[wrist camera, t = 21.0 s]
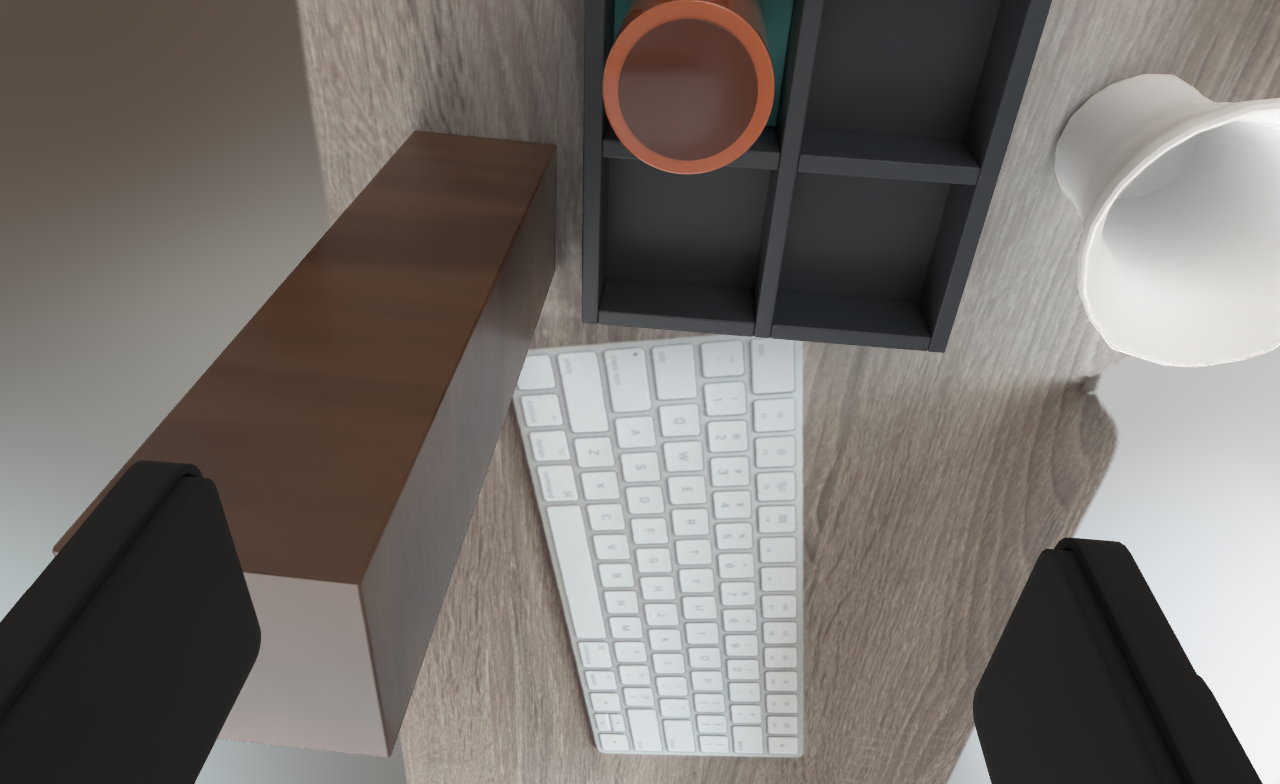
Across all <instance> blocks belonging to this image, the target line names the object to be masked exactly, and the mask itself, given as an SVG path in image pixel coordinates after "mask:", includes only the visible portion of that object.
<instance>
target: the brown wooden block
mask: <svg viewBox="0 0 1280 784" xmlns="http://www.w3.org/2000/svg"><path fill="white" fill-rule="evenodd" d="M555 210H556V145H554V144H544V143H534V142H524V141H513V140H503V139H493V138H483V137H472V136H462V135H452V134H442V133H431V132H421V131H414V132H413V133H412V134H411V135H410V137H409V138H408V139H407V140H406V141H405V142H404V144H403V145H402V146H401V147H400V148H399V149H398V150H397V152H396V153H395V154H394V155H393V156H392V157H391V159H390V160H389V161H388V162H387V163H386V164H385V165H384V167H383V168H382V169H381V170H380V171H379V172H378V174H377V175H376V176H375V177H374V178H373V179H372V180H371V182H370V183H369V184H368V185H367V186H366V187H365V188H364V190H363V191H362V192H361V193H360V194H359V195H358V197H357V198H356V199H355V200H354V201H353V202H352V203H351V205H350V206H349V207H348V208H347V209H346V210H345V212H344V213H343V214H342V215H341V216H340V217H339V218H338V220H337V221H336V222H335V223H334V224H333V225H332V227H331V228H330V229H329V230H328V231H327V232H326V233H325V235H324V236H323V237H322V238H321V239H320V240H319V242H318V243H317V244H316V245H315V246H314V247H313V248H312V250H311V251H310V252H309V253H308V254H307V255H306V257H305V258H304V259H303V260H302V261H301V262H300V263H299V265H298V266H297V267H296V268H295V269H294V270H293V272H292V273H291V274H290V275H289V276H288V277H287V278H286V280H285V281H284V282H283V283H282V284H281V285H280V287H279V288H278V289H277V290H276V291H275V292H274V293H273V295H272V296H271V297H270V298H269V299H268V300H267V301H266V303H265V304H264V305H263V306H262V307H261V309H260V310H259V311H258V312H257V313H256V314H255V315H254V316H253V318H252V319H251V320H250V321H249V322H248V324H247V325H246V326H245V327H244V328H243V329H242V331H241V332H240V333H239V334H238V335H237V336H236V337H235V338H234V340H233V341H232V342H231V343H230V344H229V345H228V346H227V348H226V349H225V350H224V351H223V352H222V353H221V355H220V356H219V357H218V358H217V359H216V360H215V361H214V363H213V364H212V365H211V366H210V367H209V368H208V369H207V371H206V372H205V373H204V374H203V375H202V376H201V378H200V379H199V380H198V381H197V382H196V383H195V384H194V386H193V387H192V388H191V389H190V390H189V391H188V393H187V394H186V395H185V396H184V397H183V398H182V400H181V401H180V402H179V403H178V404H177V405H176V406H175V408H174V409H173V410H172V411H171V412H170V413H169V414H168V416H167V417H166V418H165V419H164V420H163V421H162V423H161V424H160V425H159V426H158V427H157V428H156V429H155V431H154V432H153V433H152V434H151V435H150V436H149V437H148V439H147V440H146V441H145V442H144V443H143V444H142V446H141V447H140V448H139V449H138V450H137V451H136V452H135V454H134V455H133V456H132V457H131V458H130V460H129V461H128V462H127V463H126V464H125V465H124V466H123V467H122V469H121V470H120V471H119V472H118V473H117V474H116V476H115V477H114V478H113V479H112V480H111V481H110V483H109V484H108V485H107V486H106V487H105V488H104V489H103V491H102V492H101V493H100V494H99V495H98V496H97V498H96V499H95V500H94V501H93V502H92V503H91V504H90V506H89V507H88V508H87V509H86V510H85V511H84V512H83V514H82V515H81V516H80V517H79V518H78V520H76V522H75V523H74V524H73V525H72V527H70V529H69V530H68V531H67V532H66V533H65V534H64V535H63V537H62V538H61V539H60V540H59V541H58V542H57V544H56V545H55V546H54V547H53V553H54V556H55V557H56V555H57V554H58V553H59V552H60V550H61V549H62V548H63V547H64V546H65V544H66V543H67V542H68V541H69V540H70V538H71V537H72V536H73V535H74V534H75V532H76V531H77V530H78V529H79V527H80V526H81V525H82V524H83V523H84V521H85V520H86V519H87V518H88V517H89V515H90V514H91V513H92V512H93V511H94V509H95V508H96V507H97V506H98V504H99V503H100V502H101V501H102V500H103V498H104V497H105V496H106V495H107V494H108V492H109V491H110V490H111V489H112V488H113V486H114V485H115V484H116V483H117V481H118V480H119V479H120V478H121V477H122V475H123V474H124V473H125V472H126V471H127V469H128V468H129V467H131V466H132V465H133V464H134V463H135V462H138V461H141V460H148V461H159V462H171V463H183V464H192V465H195V466H197V467H198V468H199V469H200V471H201V473H202V475H203V477H204V478H208V479H211V480H212V481H213V482H214V483H215V485H216V487H217V490H218V494H219V497H220V500H221V503H222V506H223V510H224V513H225V516H226V519H227V522H228V526H229V529H230V532H231V535H232V539H233V542H234V545H235V548H236V551H237V555H238V558H239V561H240V564H241V567H242V571H243V574H244V577H245V580H246V583H247V587H248V590H249V593H250V596H251V599H252V603H253V606H254V609H255V612H256V616H257V619H258V622H259V625H260V629H261V645H260V650H259V654H258V657H257V659H256V662H255V664H254V666H253V668H252V670H251V672H250V674H249V676H248V678H247V680H246V682H245V684H244V686H243V688H242V690H241V692H240V694H239V696H238V698H237V700H236V702H235V704H234V706H233V708H232V710H231V711H230V713H229V715H228V717H227V719H226V721H225V723H224V725H223V727H222V729H221V731H220V733H219V735H218V737H217V739H226V740H235V741H243V742H253V743H262V744H270V745H279V746H288V747H297V748H305V749H315V750H324V751H332V752H341V753H350V754H359V755H368V756H376V757H385V758H389V757H390V756H391V754H392V751H393V748H394V745H395V742H396V740H397V737H398V734H399V731H400V728H401V725H402V722H403V719H404V716H405V713H406V710H407V707H408V704H409V701H410V698H411V695H412V692H413V689H414V686H415V683H416V680H417V677H418V674H419V671H420V668H421V666H422V663H423V660H424V657H425V654H426V651H427V648H428V645H429V642H430V639H431V636H432V633H433V630H434V627H435V624H436V621H437V618H438V615H439V612H440V609H441V606H442V603H443V600H444V597H445V594H446V592H447V589H448V586H449V583H450V580H451V577H452V574H453V571H454V568H455V565H456V562H457V559H458V556H459V553H460V550H461V547H462V544H463V541H464V538H465V535H466V532H467V529H468V526H469V523H470V520H471V518H472V515H473V512H474V509H475V506H476V503H477V500H478V497H479V494H480V491H481V488H482V485H483V482H484V479H485V476H486V473H487V470H488V467H489V464H490V461H491V458H492V455H493V452H494V449H495V446H496V444H497V441H498V438H499V435H500V432H501V429H502V426H503V423H504V420H505V417H506V414H507V411H508V408H509V405H510V402H511V399H512V396H513V393H514V390H515V387H516V384H517V381H518V378H519V375H520V372H521V370H522V367H523V364H524V361H525V358H526V355H527V352H528V349H529V346H530V343H531V340H532V337H533V334H534V331H535V328H536V325H537V322H538V319H539V316H540V313H541V310H542V307H543V304H544V301H545V298H546V296H547V293H548V290H549V287H550V284H551V281H552V278H553V275H554V272H555Z"/></svg>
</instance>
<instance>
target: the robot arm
mask: <svg viewBox="0 0 1280 784" xmlns="http://www.w3.org/2000/svg"><path fill="white" fill-rule="evenodd" d="M260 645H261V629H260V625H259V622H258V619H257V616H256V612H255V609H254V606H253V603H252V599H251V596H250V593H249V590H248V587H247V583H246V580H245V577H244V574H243V571H242V567H241V564H240V561H239V558H238V555H237V551H236V548H235V545H234V542H233V539H232V535H231V532H230V529H229V526H228V522H227V519H226V516H225V513H224V510H223V506H222V503H221V500H220V497H219V494H218V490H217V487H216V485H215V483H214V482H213V481H212V480H211V479H208V478H204V477H203V475H202V473H201V471H200V469H199V468H198V467H197V466H195V465H192V464H183V463H171V462H159V461H148V460H141V461H138V462H135V463H134V464H133V465H132V466H131V467H129V468H128V469H127V471H126V472H125V473H124V474H123V475H122V477H121V478H120V479H119V480H118V481H117V483H116V484H115V485H114V486H113V488H112V489H111V490H110V491H109V492H108V494H107V495H106V496H105V497H104V498H103V500H102V501H101V502H100V503H99V504H98V506H97V507H96V508H95V509H94V511H93V512H92V513H91V514H90V515H89V517H88V518H87V519H86V520H85V521H84V523H83V524H82V525H81V526H80V527H79V529H78V530H77V531H76V532H75V534H74V535H73V536H72V537H71V538H70V540H69V541H68V542H67V543H66V544H65V546H64V547H63V548H62V549H61V550H60V552H59V553H58V554H57V555H56V557H55V558H54V559H53V560H52V562H51V563H50V564H49V565H48V566H47V568H46V569H45V570H44V571H43V572H42V573H41V575H40V576H39V577H38V578H37V579H36V581H35V582H34V583H33V584H32V586H31V587H30V588H29V589H28V590H27V591H26V592H25V593H24V594H23V596H22V597H21V598H20V599H19V601H18V602H17V603H16V604H15V605H14V607H13V608H12V609H11V610H10V611H9V613H8V614H7V615H6V616H5V618H4V619H3V620H2V621H1V622H0V784H194V783H195V781H196V779H197V777H198V775H199V773H200V771H201V769H202V767H203V765H204V763H205V761H206V759H207V757H208V755H209V753H210V751H211V749H212V747H213V745H214V743H215V741H216V739H217V737H218V735H219V733H220V731H221V729H222V727H223V725H224V723H225V721H226V719H227V717H228V715H229V713H230V711H231V710H232V708H233V706H234V704H235V702H236V700H237V698H238V696H239V694H240V692H241V690H242V688H243V686H244V684H245V682H246V680H247V678H248V676H249V674H250V672H251V670H252V668H253V666H254V664H255V662H256V659H257V657H258V654H259V650H260ZM973 716H974V722H975V726H976V730H977V734H978V737H979V740H980V744H981V747H982V751H983V755H984V758H985V761H986V765H987V768H988V772H989V776H990V779H991V782H992V784H1262V782H1261V780H1260V779H1259V777H1258V775H1257V773H1256V771H1255V769H1254V768H1253V766H1252V764H1251V762H1250V760H1249V759H1248V757H1247V755H1246V754H1245V751H1244V749H1243V748H1242V746H1241V744H1240V743H1239V740H1238V739H1237V737H1236V735H1235V733H1234V732H1233V730H1232V728H1231V726H1230V724H1229V722H1228V721H1227V719H1226V717H1225V715H1224V713H1223V712H1222V710H1221V708H1220V706H1219V704H1218V703H1217V701H1216V699H1215V697H1214V695H1213V693H1212V692H1211V690H1210V689H1209V688H1208V686H1207V685H1206V683H1205V682H1204V680H1203V679H1202V678H1201V677H1200V676H1198V675H1197V674H1196V672H1195V670H1194V669H1193V667H1192V665H1191V663H1190V661H1189V660H1188V658H1187V656H1186V654H1185V652H1184V650H1183V648H1182V647H1181V645H1180V643H1179V641H1178V639H1177V637H1176V636H1175V634H1174V632H1173V630H1172V628H1171V626H1170V625H1169V623H1168V621H1167V619H1166V617H1165V616H1164V614H1163V612H1162V610H1161V608H1160V606H1159V605H1158V603H1157V601H1156V599H1155V597H1154V596H1153V593H1152V592H1151V590H1150V588H1149V586H1148V585H1147V583H1146V581H1145V579H1144V577H1143V575H1142V573H1141V572H1140V570H1139V568H1138V566H1137V564H1136V562H1135V561H1134V559H1133V557H1132V555H1131V553H1130V552H1129V551H1128V549H1127V548H1126V547H1125V546H1124V545H1123V544H1121V543H1120V542H1114V541H1103V540H1090V539H1079V538H1063V539H1062V540H1060V541H1059V542H1058V544H1057V545H1056V547H1055V548H1054V549H1045V550H1044V551H1042V553H1041V554H1040V556H1039V557H1038V560H1037V562H1036V564H1035V566H1034V568H1033V570H1032V572H1031V574H1030V576H1029V579H1028V581H1027V583H1026V585H1025V587H1024V589H1023V591H1022V593H1021V596H1020V598H1019V600H1018V602H1017V604H1016V606H1015V608H1014V610H1013V612H1012V615H1011V617H1010V619H1009V621H1008V623H1007V625H1006V627H1005V629H1004V631H1003V634H1002V636H1001V638H1000V640H999V642H998V644H997V646H996V648H995V650H994V653H993V655H992V657H991V659H990V661H989V663H988V665H987V667H986V669H985V672H984V674H983V676H982V678H981V680H980V682H979V684H978V686H977V688H976V691H975V694H974V699H973Z"/></svg>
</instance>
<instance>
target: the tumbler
mask: <svg viewBox="0 0 1280 784" xmlns="http://www.w3.org/2000/svg"><path fill="white" fill-rule="evenodd" d="M774 92H775V79H774V72H773V65H772V60H771V54H770V48H769V43H768V37H767V31H766V26H765V20H764V14H763V10H762V6H761V3H760V0H631V2H630V4H629V6H628V9H627V11H626V14H625V16H624V19H623V21H622V24H621V26H620V29H619V31H618V33H617V36H616V38H615V41H614V43H613V46H612V48H611V51H610V53H609V56H608V58H607V61H606V65H605V69H604V75H603V101H604V107H605V110H606V114H607V117H608V120H609V122H610V125H611V127H612V129H613V130H614V132H615V134H616V136H617V137H618V138H619V140H620V141H621V142H622V144H623V145H624V146H625V147H626V148H627V149H628V150H629V151H630V152H631V153H632V154H633V155H635V156H636V157H637V158H638V159H640V160H641V161H643V162H644V163H646V164H648V165H650V166H652V167H654V168H656V169H659V170H662V171H666V172H670V173H675V174H688V175H689V174H701V173H706V172H710V171H713V170H716V169H719V168H721V167H723V166H726V165H728V164H730V163H731V162H733V161H734V160H736V159H737V158H739V157H740V156H741V155H743V154H744V153H745V152H746V151H747V150H748V149H749V148H750V147H751V146H752V145H753V144H754V143H755V141H756V140H757V139H758V137H759V136H760V134H761V133H762V131H763V129H764V127H765V125H766V124H767V121H768V118H769V116H770V113H771V109H772V105H773V101H774Z"/></svg>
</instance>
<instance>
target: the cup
mask: <svg viewBox="0 0 1280 784" xmlns="http://www.w3.org/2000/svg"><path fill="white" fill-rule="evenodd" d="M1054 171H1055V174H1056V177H1057V180H1058V184H1059V187H1060V189H1061V190H1062V191H1063V192H1064V193H1065V194H1066V196H1067V197H1068V198H1069V199H1070V200H1071V201H1072V203H1073V204H1074V205H1075V206H1076V208H1077V210H1078V213H1079V215H1080V218H1081V220H1082V224H1083V230H1082V234H1081V238H1080V241H1079V245H1078V269H1077V290H1078V293H1079V295H1080V298H1081V301H1082V304H1083V306H1084V309H1085V312H1086V314H1087V317H1088V319H1089V320H1090V322H1091V323H1092V324H1093V326H1094V327H1095V328H1096V329H1097V331H1098V332H1099V333H1100V335H1101V336H1102V337H1103V339H1104V340H1105V341H1106V342H1107V344H1108V345H1109V346H1110V348H1111V349H1113V350H1116V351H1119V352H1122V353H1125V354H1129V355H1132V356H1135V357H1138V358H1141V359H1145V360H1148V361H1151V362H1154V363H1157V364H1160V365H1164V366H1179V367H1203V366H1210V365H1216V364H1223V363H1229V362H1236V361H1241V360H1244V359H1247V358H1251V357H1254V356H1257V355H1260V354H1263V353H1266V352H1270V351H1271V350H1273V349H1275V348H1277V347H1279V346H1280V98H1275V99H1264V100H1253V101H1243V102H1237V103H1230V102H1225V103H1215V102H1213V101H1211V100H1209V99H1208V98H1206V97H1204V96H1203V95H1201V94H1200V93H1199V92H1198V90H1197V89H1195V88H1194V87H1192V86H1191V85H1189V84H1187V83H1186V82H1184V81H1183V80H1181V79H1180V78H1178V77H1176V76H1175V75H1168V74H1142V75H1139V76H1135V77H1132V78H1129V79H1125V80H1122V81H1119V82H1115V83H1113V84H1111V85H1109V86H1108V87H1106V88H1104V89H1102V90H1101V91H1099V92H1097V93H1096V94H1094V95H1092V96H1091V97H1090V98H1089V99H1088V100H1087V101H1086V102H1085V103H1084V104H1083V105H1082V106H1081V107H1080V108H1079V109H1078V110H1077V111H1076V112H1075V113H1074V114H1073V115H1072V116H1071V117H1070V119H1069V121H1068V123H1067V125H1066V127H1065V128H1064V130H1063V132H1062V134H1061V136H1060V138H1059V140H1058V142H1057V144H1056V153H1055V162H1054Z"/></svg>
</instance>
